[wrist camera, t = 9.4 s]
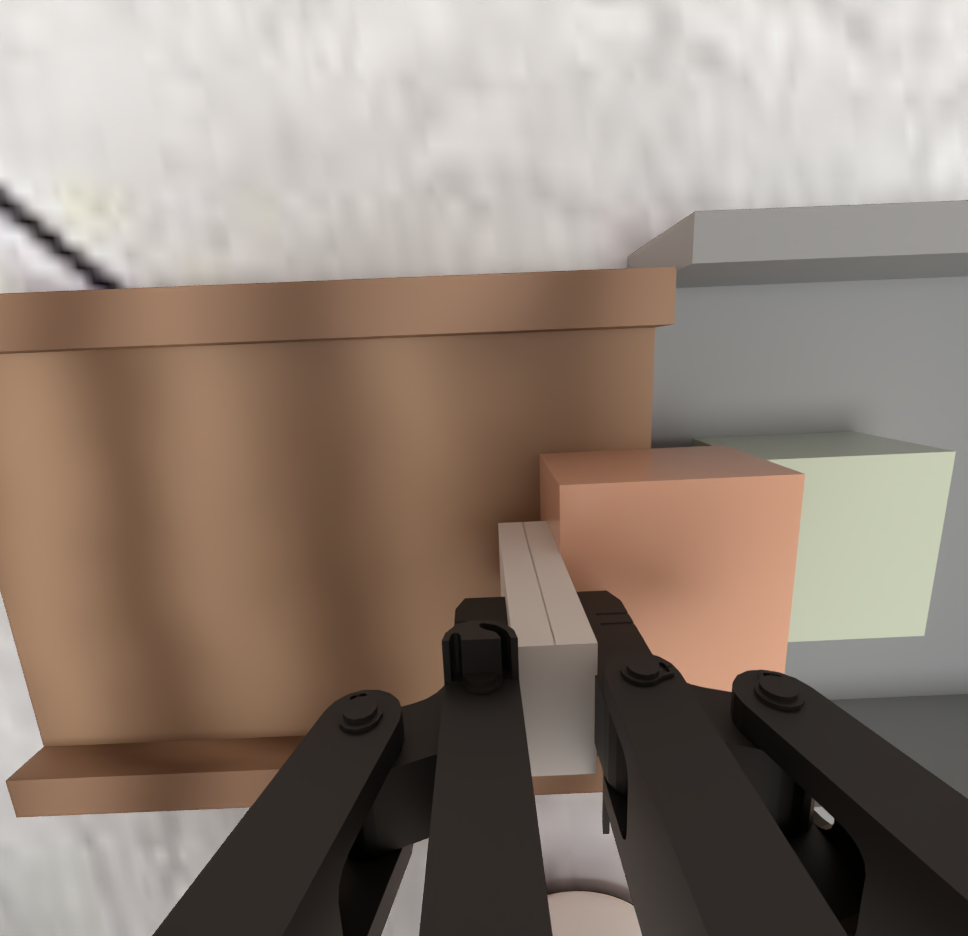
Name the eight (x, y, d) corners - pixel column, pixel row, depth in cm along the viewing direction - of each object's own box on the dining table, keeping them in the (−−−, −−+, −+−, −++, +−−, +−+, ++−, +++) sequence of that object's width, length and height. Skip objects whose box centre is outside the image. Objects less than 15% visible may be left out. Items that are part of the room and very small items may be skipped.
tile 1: (685, 587, 20) (737, 644, 16) (693, 438, 18) (751, 460, 14) (835, 580, 20) (924, 635, 16) (853, 431, 18) (955, 451, 14)
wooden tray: (111, 722, 21) (16, 817, 17) (13, 313, 18) (-141, 299, 13) (617, 700, 21) (654, 789, 17) (627, 288, 18) (676, 266, 13)
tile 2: (542, 622, 17) (561, 699, 13) (539, 453, 16) (559, 485, 12) (713, 613, 17) (782, 689, 13) (724, 445, 16) (805, 474, 12)
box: (617, 722, 22) (663, 843, 16) (627, 256, 17) (694, 211, 12) (1006, 706, 22) (1180, 820, 16) (1111, 236, 17) (1392, 183, 12)
